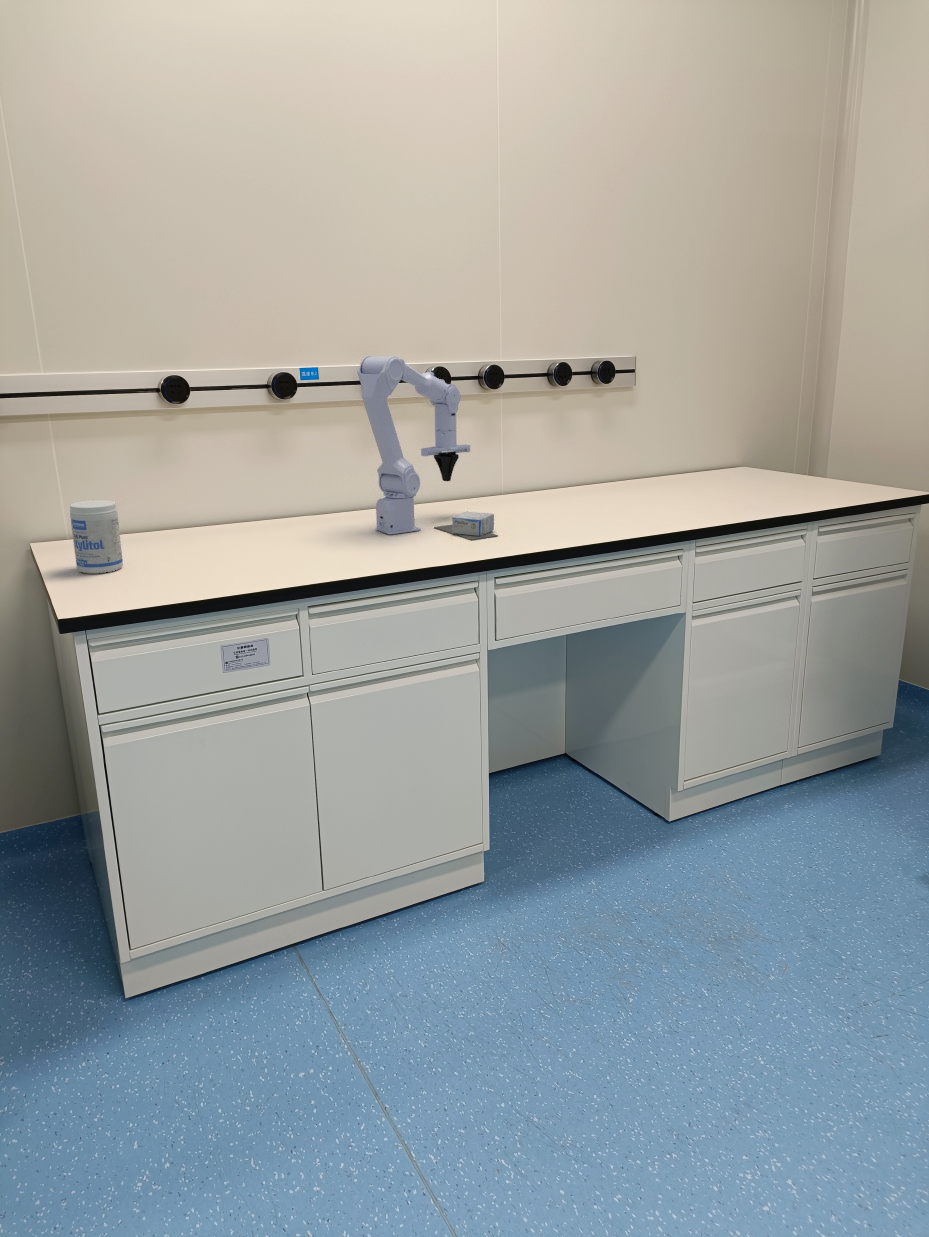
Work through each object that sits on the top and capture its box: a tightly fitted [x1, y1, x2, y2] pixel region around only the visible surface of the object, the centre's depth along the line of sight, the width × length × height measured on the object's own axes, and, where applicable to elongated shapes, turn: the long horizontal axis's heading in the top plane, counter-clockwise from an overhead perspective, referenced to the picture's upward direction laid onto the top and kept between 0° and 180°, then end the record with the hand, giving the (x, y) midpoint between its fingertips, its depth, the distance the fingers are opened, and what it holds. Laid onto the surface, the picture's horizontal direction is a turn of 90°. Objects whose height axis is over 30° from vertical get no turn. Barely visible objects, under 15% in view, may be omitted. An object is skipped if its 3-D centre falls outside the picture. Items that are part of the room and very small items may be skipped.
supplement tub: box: [69, 499, 124, 575], centre depth 195 cm, size 10×10×15 cm
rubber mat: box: [433, 524, 499, 541], centre depth 230 cm, size 8×18×1 cm, turn 33°
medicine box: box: [451, 511, 495, 536], centre depth 228 cm, size 8×4×9 cm
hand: (446, 480), depth 244 cm, fingers closed
